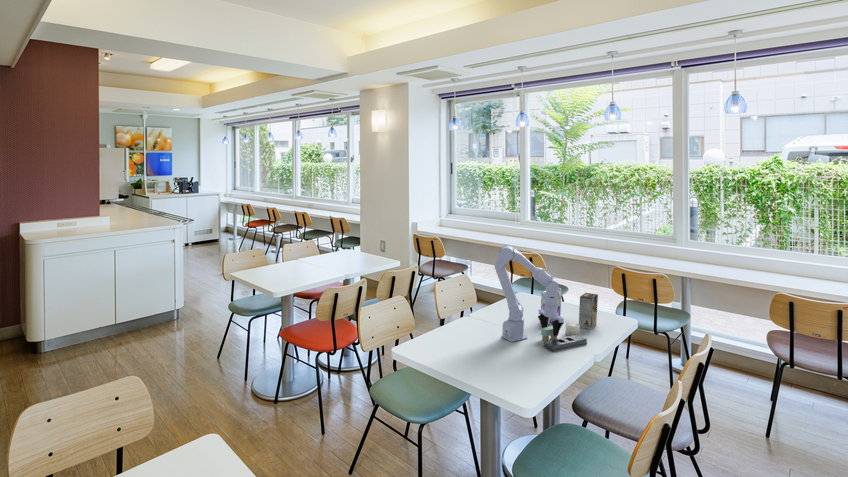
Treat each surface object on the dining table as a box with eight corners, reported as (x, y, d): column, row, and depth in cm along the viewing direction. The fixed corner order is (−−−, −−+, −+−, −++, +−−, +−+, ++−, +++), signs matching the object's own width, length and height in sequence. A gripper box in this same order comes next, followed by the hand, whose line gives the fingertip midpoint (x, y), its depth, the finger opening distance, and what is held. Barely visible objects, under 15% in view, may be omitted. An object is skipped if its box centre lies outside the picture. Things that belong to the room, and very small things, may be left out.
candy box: (550, 324, 237) (552, 293, 234) (539, 322, 240) (541, 291, 238) (560, 318, 248) (562, 288, 245) (550, 315, 251) (551, 286, 249)
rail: (552, 351, 202) (552, 346, 202) (543, 346, 208) (543, 341, 207) (586, 344, 211) (586, 338, 211) (576, 339, 216) (577, 334, 216)
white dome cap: (572, 337, 219) (572, 327, 218) (562, 333, 225) (563, 323, 224) (582, 335, 222) (582, 325, 221) (572, 331, 227) (572, 321, 227)
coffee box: (584, 322, 241) (585, 292, 239) (596, 324, 237) (598, 294, 235) (578, 326, 234) (579, 296, 231) (590, 329, 230) (592, 298, 227)
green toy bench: (545, 342, 213) (545, 330, 212) (540, 340, 215) (541, 328, 214) (558, 340, 216) (559, 327, 215) (553, 337, 219) (554, 325, 218)
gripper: (569, 307, 208) (567, 336, 210) (547, 299, 221) (546, 326, 223) (557, 309, 205) (555, 339, 207) (535, 301, 218) (534, 329, 220)
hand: (550, 333), depth 215 cm, fingers open, 7 cm apart
